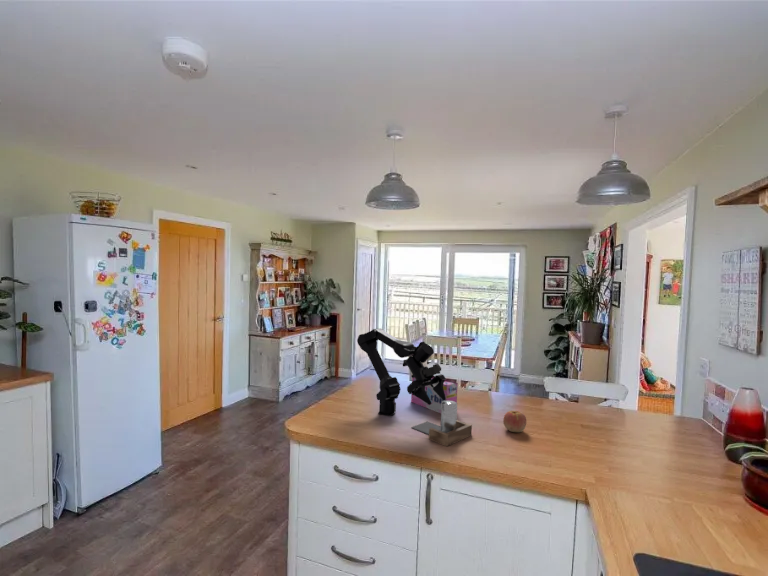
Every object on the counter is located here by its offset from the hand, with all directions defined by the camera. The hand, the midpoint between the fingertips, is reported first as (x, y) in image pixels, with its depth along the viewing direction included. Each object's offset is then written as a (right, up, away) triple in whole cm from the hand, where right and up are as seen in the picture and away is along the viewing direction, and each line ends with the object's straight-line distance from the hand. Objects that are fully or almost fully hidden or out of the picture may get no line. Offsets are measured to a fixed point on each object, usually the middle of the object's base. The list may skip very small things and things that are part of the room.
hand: (437, 402), depth 158 cm
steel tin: (+3, -12, -4) cm, 13 cm away
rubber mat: (-3, -12, +3) cm, 12 cm away
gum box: (+2, -11, +31) cm, 33 cm away
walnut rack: (+4, -12, -5) cm, 14 cm away
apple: (+31, -13, +4) cm, 34 cm away
